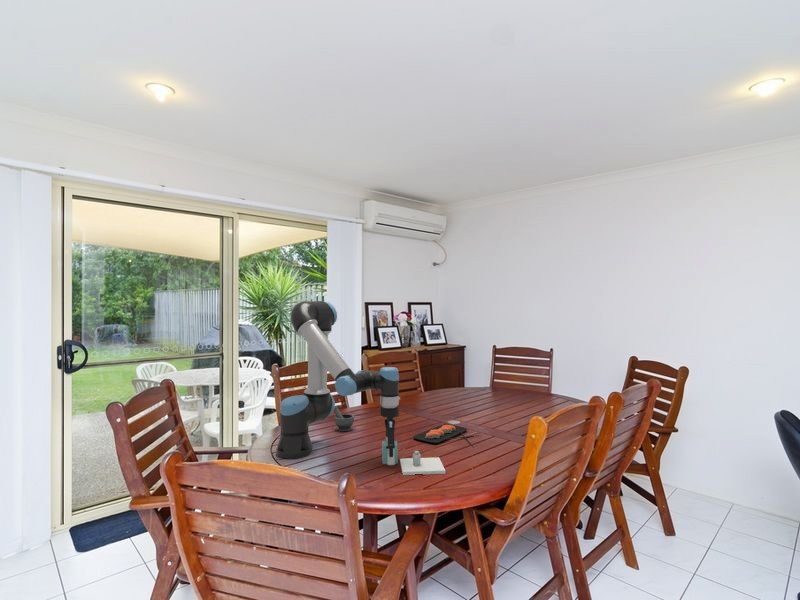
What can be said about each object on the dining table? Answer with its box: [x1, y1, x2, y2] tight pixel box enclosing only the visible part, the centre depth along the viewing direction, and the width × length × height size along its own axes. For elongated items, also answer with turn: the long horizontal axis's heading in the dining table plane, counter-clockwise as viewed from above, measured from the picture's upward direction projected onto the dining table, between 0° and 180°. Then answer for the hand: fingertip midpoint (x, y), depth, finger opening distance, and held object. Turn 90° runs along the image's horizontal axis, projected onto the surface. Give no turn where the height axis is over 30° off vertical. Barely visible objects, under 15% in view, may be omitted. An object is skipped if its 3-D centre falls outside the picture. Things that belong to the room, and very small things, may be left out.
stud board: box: [399, 450, 446, 476], centre depth 173 cm, size 16×14×6 cm
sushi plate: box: [412, 423, 480, 449], centre depth 209 cm, size 29×30×4 cm
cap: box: [381, 440, 399, 465], centre depth 180 cm, size 6×6×7 cm
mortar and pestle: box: [333, 405, 355, 432], centre depth 223 cm, size 11×9×12 cm
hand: (390, 458), depth 180 cm, fingers open, 13 cm apart
